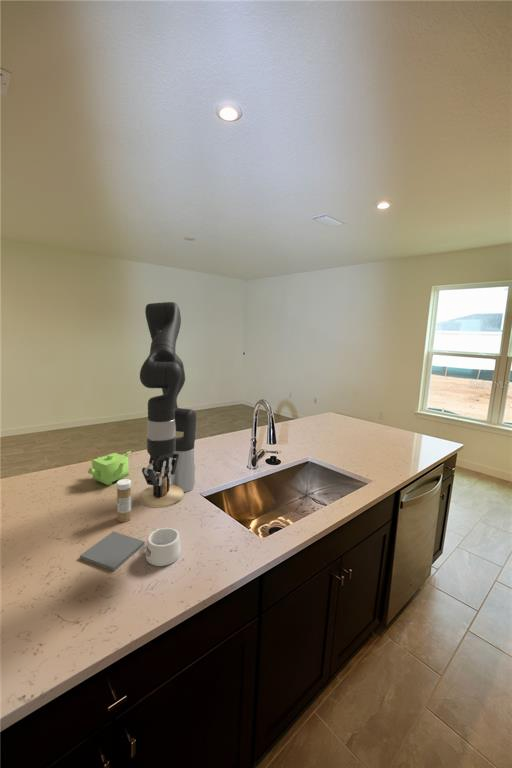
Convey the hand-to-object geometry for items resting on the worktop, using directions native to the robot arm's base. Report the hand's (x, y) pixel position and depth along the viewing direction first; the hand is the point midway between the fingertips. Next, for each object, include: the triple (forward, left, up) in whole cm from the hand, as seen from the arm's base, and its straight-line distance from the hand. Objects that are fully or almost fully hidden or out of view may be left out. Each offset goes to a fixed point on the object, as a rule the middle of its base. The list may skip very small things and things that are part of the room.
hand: (161, 493), depth 89 cm
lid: (0, 0, -1) cm, 1 cm away
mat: (+5, -13, -18) cm, 23 cm away
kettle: (-29, -47, -19) cm, 58 cm away
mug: (0, 0, -19) cm, 19 cm away
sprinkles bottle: (-9, -22, -19) cm, 30 cm away
